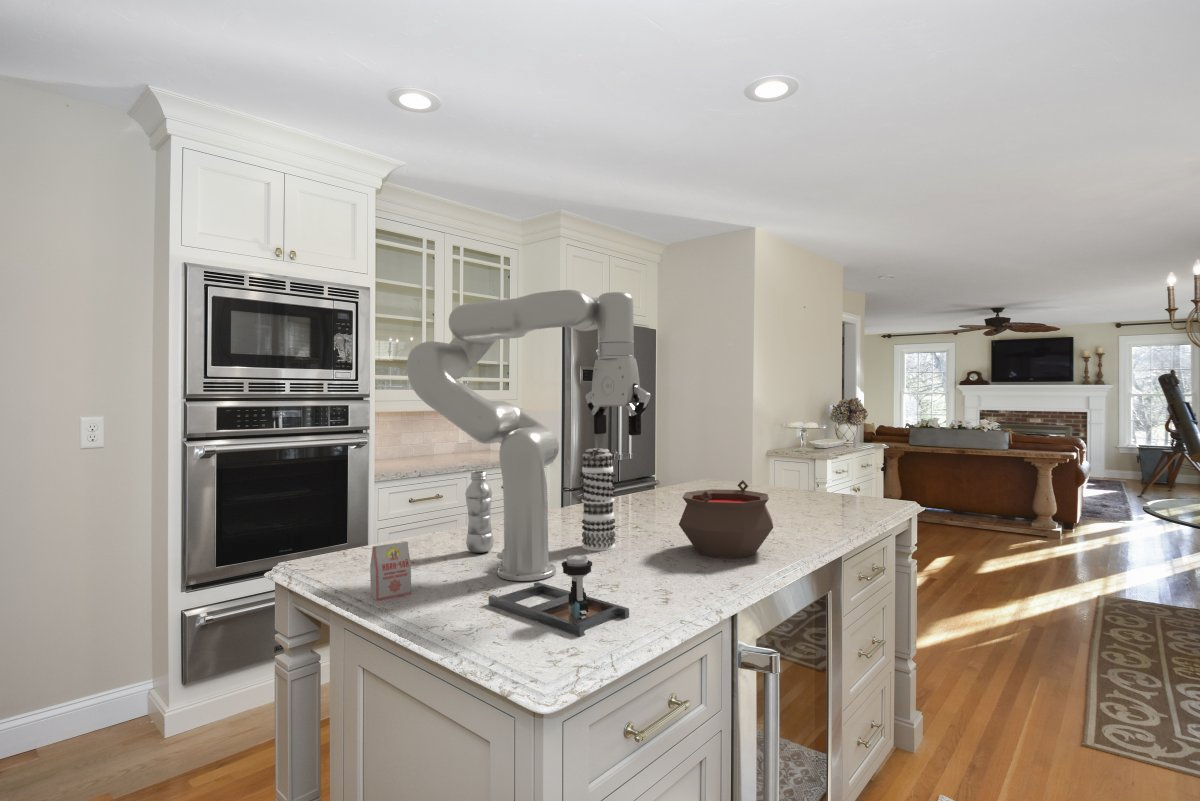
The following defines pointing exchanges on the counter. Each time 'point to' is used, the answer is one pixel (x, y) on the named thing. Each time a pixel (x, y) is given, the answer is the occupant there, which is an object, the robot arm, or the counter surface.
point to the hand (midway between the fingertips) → (617, 434)
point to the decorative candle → (598, 500)
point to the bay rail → (558, 609)
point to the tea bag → (390, 571)
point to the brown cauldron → (726, 521)
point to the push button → (577, 584)
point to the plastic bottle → (479, 514)
